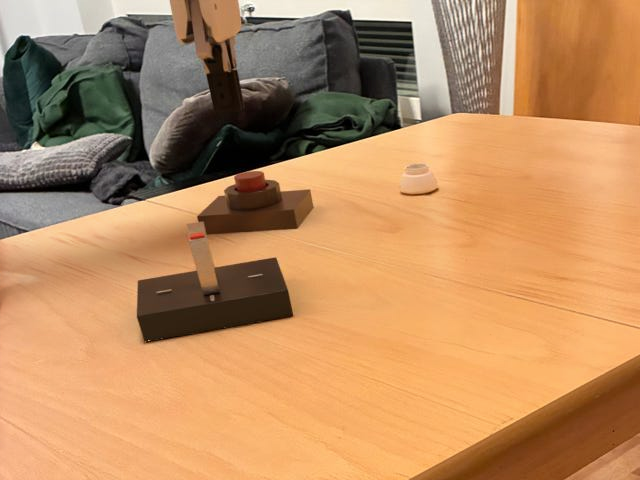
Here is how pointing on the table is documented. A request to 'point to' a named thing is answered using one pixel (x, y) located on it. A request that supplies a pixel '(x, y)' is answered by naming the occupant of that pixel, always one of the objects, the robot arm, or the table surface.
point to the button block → (256, 210)
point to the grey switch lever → (203, 258)
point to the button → (250, 181)
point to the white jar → (418, 179)
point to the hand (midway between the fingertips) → (229, 110)
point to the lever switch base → (212, 300)
